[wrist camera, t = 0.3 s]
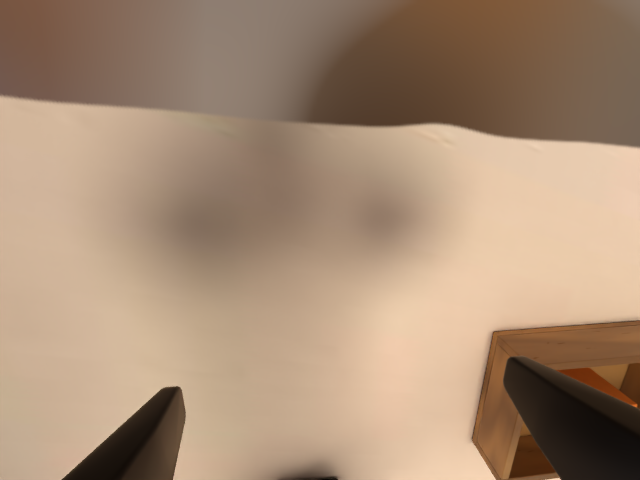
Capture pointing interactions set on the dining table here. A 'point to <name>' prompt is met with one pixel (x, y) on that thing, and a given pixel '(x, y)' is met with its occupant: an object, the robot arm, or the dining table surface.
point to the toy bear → (596, 383)
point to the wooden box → (559, 354)
